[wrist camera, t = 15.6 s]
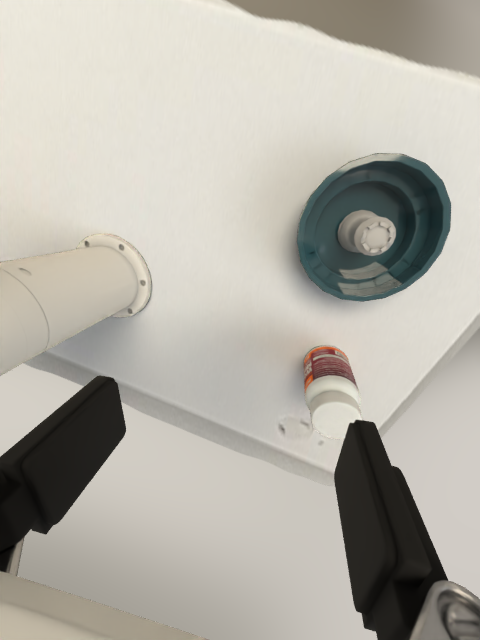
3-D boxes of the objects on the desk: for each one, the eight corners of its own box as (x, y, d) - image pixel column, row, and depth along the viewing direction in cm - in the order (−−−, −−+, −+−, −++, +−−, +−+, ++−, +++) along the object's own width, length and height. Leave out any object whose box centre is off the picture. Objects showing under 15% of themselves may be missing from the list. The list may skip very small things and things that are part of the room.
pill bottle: (300, 346, 36) (300, 399, 26) (345, 341, 34) (365, 395, 24) (307, 382, 38) (310, 443, 28) (350, 378, 36) (370, 443, 26)
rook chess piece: (365, 257, 29) (387, 272, 22) (329, 243, 29) (339, 253, 22) (388, 218, 27) (420, 220, 20) (349, 203, 27) (367, 200, 20)
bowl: (290, 280, 32) (289, 293, 27) (307, 162, 27) (309, 151, 22) (400, 293, 30) (420, 308, 25) (442, 166, 25) (478, 155, 20)
